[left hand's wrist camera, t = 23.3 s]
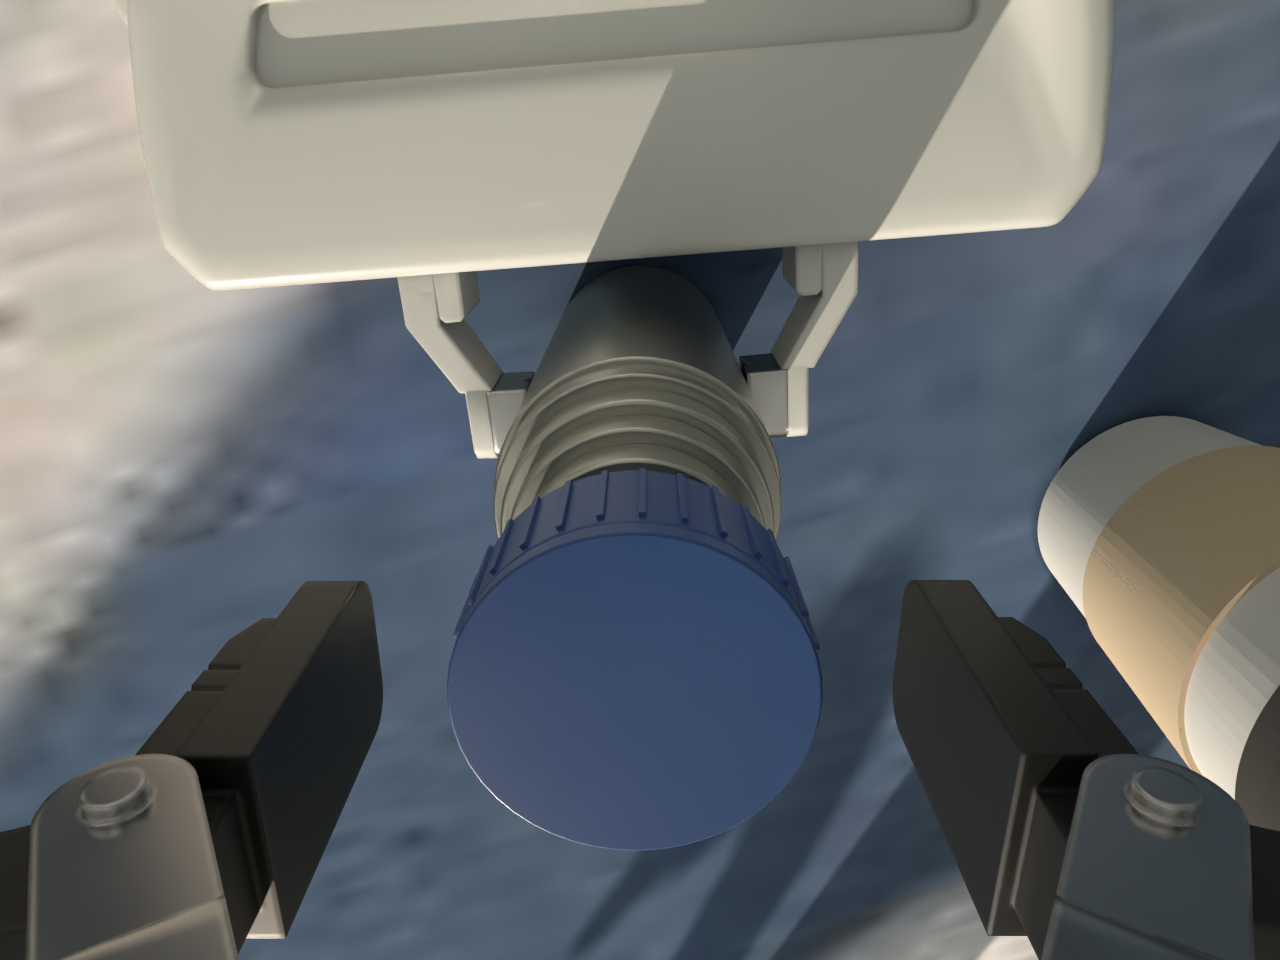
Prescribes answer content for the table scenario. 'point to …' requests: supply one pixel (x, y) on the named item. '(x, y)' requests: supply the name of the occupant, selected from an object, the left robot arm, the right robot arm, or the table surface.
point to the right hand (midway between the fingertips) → (643, 440)
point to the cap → (635, 664)
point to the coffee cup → (1182, 587)
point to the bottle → (639, 399)
